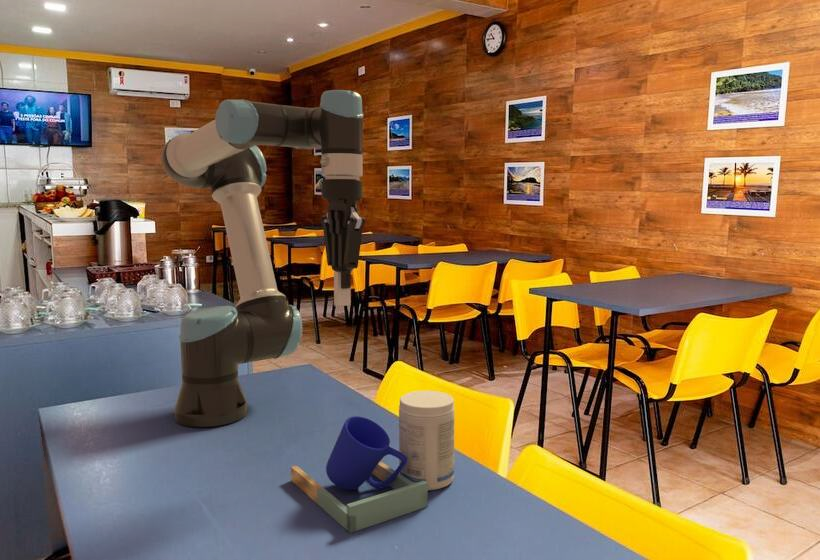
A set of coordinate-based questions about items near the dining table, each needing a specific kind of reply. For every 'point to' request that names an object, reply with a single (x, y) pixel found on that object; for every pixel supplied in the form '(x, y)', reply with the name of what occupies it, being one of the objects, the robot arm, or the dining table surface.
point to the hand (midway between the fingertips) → (342, 305)
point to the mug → (360, 454)
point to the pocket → (376, 504)
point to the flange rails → (311, 485)
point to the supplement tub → (427, 437)
